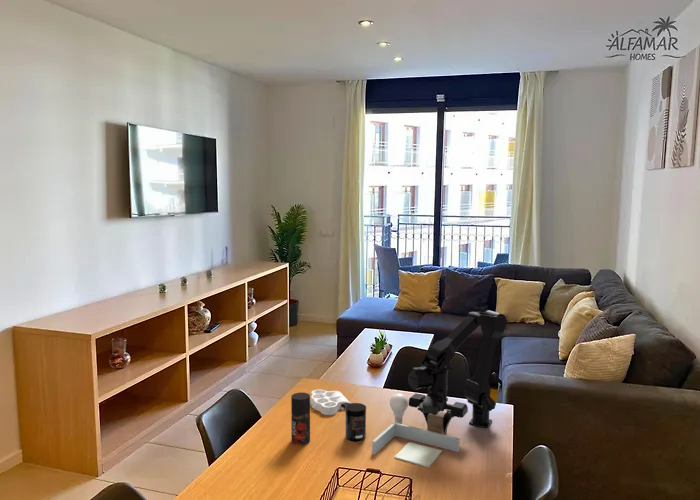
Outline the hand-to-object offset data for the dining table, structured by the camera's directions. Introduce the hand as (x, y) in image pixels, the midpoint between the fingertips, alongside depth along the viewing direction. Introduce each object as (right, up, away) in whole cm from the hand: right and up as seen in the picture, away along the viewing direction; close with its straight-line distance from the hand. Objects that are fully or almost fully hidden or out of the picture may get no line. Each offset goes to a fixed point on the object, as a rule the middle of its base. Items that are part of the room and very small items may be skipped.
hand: (437, 429), depth 172 cm
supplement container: (-27, -2, -3) cm, 27 cm away
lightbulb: (-12, -1, +7) cm, 14 cm away
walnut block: (0, -2, 0) cm, 2 cm away
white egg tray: (-37, +1, +24) cm, 44 cm away
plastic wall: (-8, -3, -12) cm, 15 cm away
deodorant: (-45, -2, -5) cm, 45 cm away
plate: (-8, -3, -14) cm, 16 cm away
